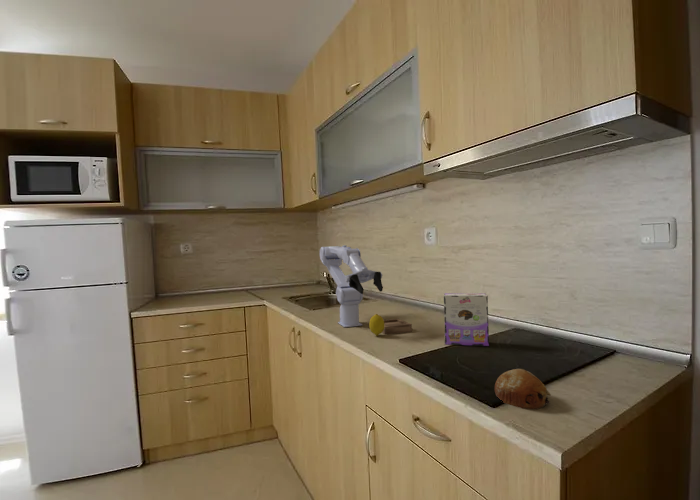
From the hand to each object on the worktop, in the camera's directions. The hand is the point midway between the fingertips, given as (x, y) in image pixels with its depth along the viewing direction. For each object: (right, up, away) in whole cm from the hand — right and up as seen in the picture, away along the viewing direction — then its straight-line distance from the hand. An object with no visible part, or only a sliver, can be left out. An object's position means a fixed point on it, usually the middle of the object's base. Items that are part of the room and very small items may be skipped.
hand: (372, 290), depth 130 cm
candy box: (+31, -16, -11) cm, 36 cm away
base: (+8, -16, +10) cm, 21 cm away
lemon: (+2, -17, +1) cm, 17 cm away
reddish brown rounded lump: (+29, -17, -54) cm, 64 cm away
